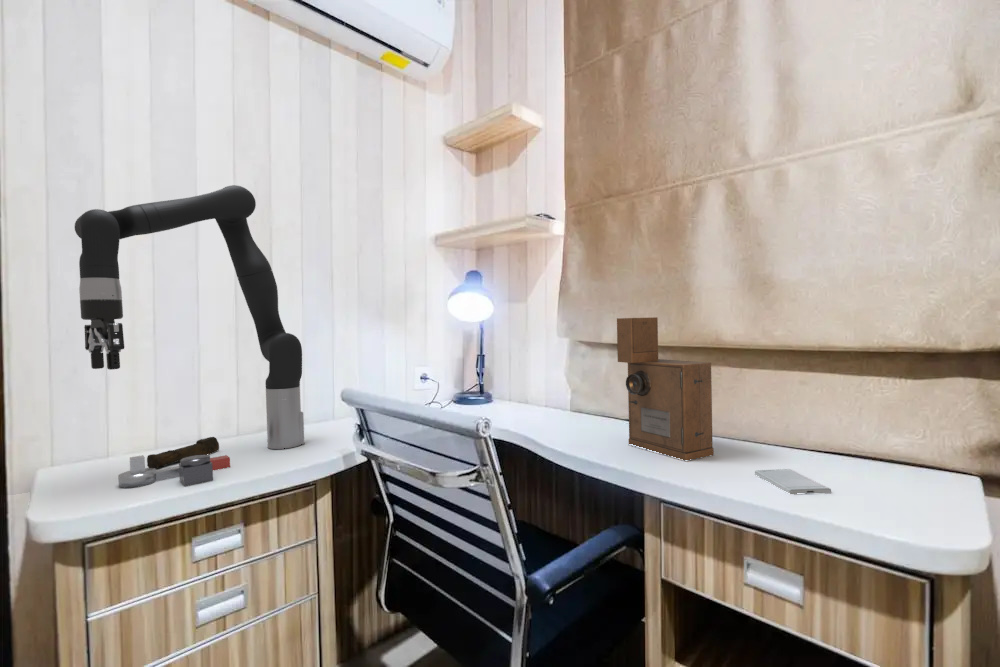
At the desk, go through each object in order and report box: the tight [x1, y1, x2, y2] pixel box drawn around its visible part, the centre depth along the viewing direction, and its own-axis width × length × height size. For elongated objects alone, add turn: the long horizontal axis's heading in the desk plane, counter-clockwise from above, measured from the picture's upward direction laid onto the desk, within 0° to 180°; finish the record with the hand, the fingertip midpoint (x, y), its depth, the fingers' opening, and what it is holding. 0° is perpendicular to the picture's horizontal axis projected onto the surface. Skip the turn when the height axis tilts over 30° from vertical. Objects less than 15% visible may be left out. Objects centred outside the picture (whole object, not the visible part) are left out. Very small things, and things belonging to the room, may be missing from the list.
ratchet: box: [117, 454, 231, 490], centre depth 116 cm, size 22×7×6 cm, turn 132°
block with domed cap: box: [178, 454, 214, 487], centre depth 112 cm, size 6×6×5 cm
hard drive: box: [754, 468, 832, 495], centre depth 100 cm, size 2×8×12 cm
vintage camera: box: [616, 317, 715, 461], centre depth 127 cm, size 19×14×35 cm
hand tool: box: [146, 436, 220, 470], centre depth 131 cm, size 19×4×5 cm, turn 157°
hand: (105, 368), depth 112 cm, fingers open, 8 cm apart
